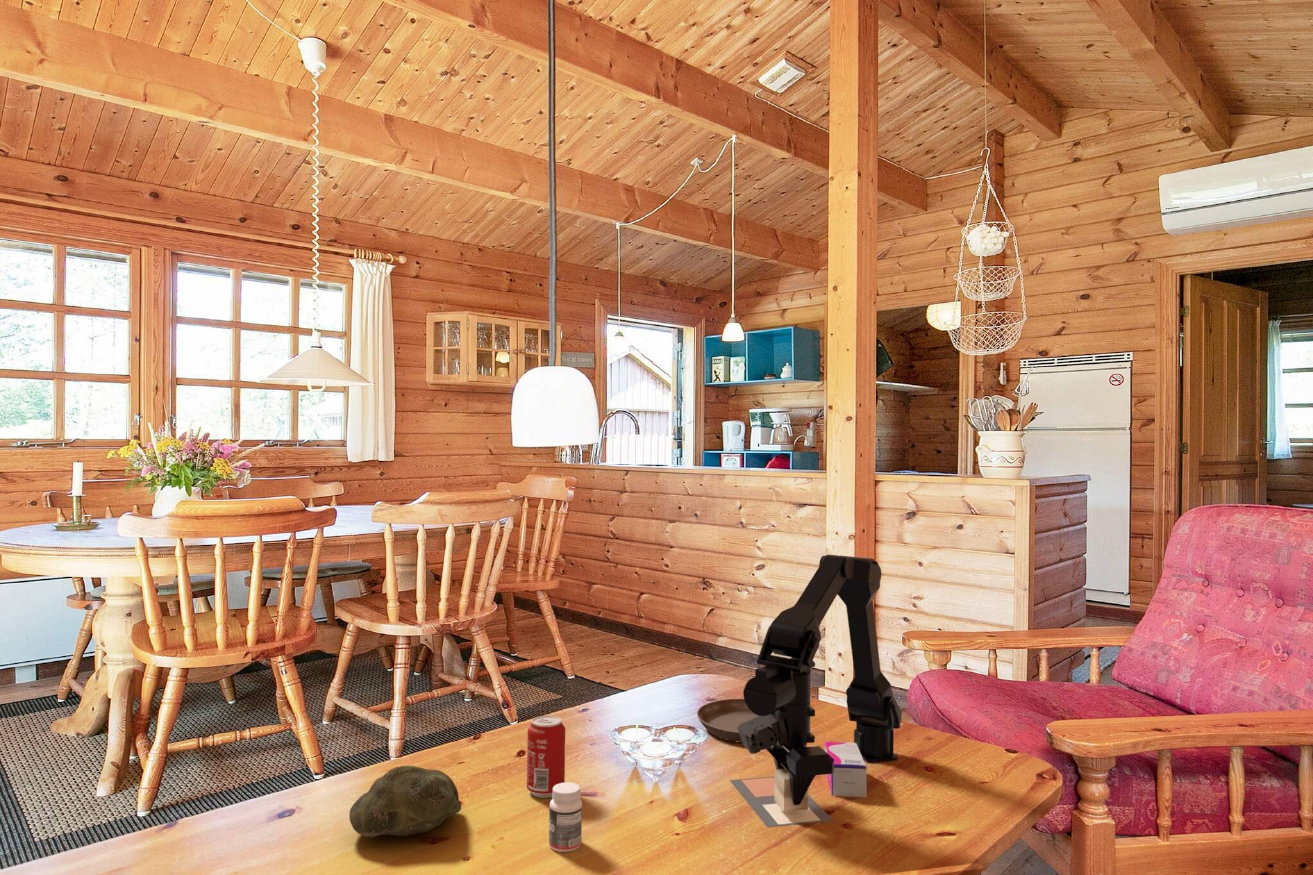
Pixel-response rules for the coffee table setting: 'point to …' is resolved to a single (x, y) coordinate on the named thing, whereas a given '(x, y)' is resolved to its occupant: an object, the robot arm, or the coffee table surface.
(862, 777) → the supplement box
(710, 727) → the plant saucer
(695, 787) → the coffee table surface
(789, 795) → the block
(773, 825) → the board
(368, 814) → the decorative rock
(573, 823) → the pill bottle
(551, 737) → the beverage can
